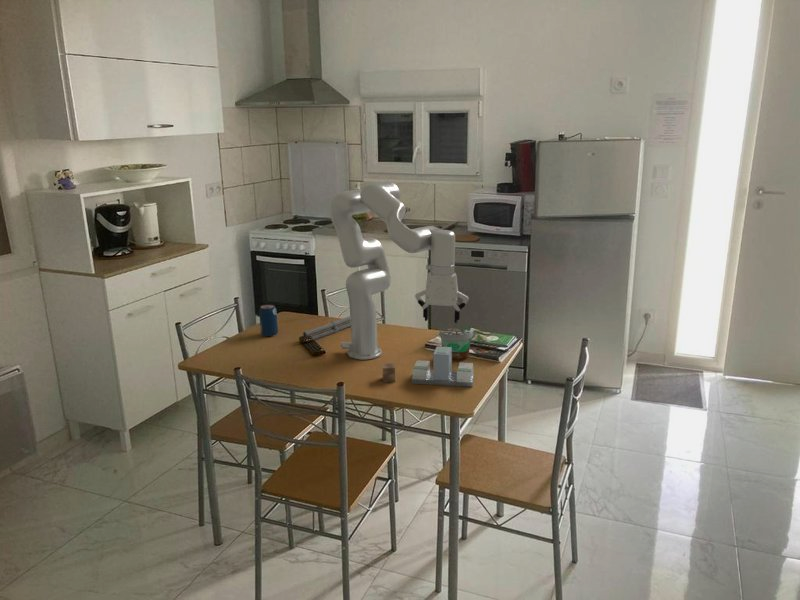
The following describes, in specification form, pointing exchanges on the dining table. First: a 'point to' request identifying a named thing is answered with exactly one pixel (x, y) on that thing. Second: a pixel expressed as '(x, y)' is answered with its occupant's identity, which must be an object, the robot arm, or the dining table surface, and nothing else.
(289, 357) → the dining table surface
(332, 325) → the metal rod assembly
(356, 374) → the dining table surface
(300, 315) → the dining table surface
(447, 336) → the food container
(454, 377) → the rail
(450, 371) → the grey-blue module block
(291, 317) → the dining table surface
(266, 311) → the soda can
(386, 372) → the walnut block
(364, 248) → the robot arm
